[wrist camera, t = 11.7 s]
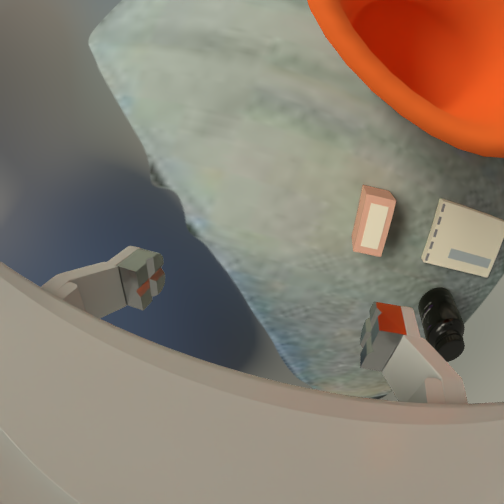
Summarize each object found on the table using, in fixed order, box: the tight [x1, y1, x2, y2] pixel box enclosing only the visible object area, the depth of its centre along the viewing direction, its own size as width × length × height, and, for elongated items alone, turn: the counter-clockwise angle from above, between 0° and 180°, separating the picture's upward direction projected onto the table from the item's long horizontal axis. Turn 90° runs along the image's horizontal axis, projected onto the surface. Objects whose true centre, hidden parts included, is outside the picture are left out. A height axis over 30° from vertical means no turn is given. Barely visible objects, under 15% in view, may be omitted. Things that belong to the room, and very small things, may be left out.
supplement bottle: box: [419, 288, 465, 362], centre depth 35 cm, size 7×7×12 cm
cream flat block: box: [421, 198, 504, 277], centre depth 33 cm, size 14×10×2 cm
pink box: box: [352, 185, 396, 257], centre depth 35 cm, size 4×8×5 cm, turn 176°
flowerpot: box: [307, 0, 504, 158], centre depth 16 cm, size 25×25×20 cm
